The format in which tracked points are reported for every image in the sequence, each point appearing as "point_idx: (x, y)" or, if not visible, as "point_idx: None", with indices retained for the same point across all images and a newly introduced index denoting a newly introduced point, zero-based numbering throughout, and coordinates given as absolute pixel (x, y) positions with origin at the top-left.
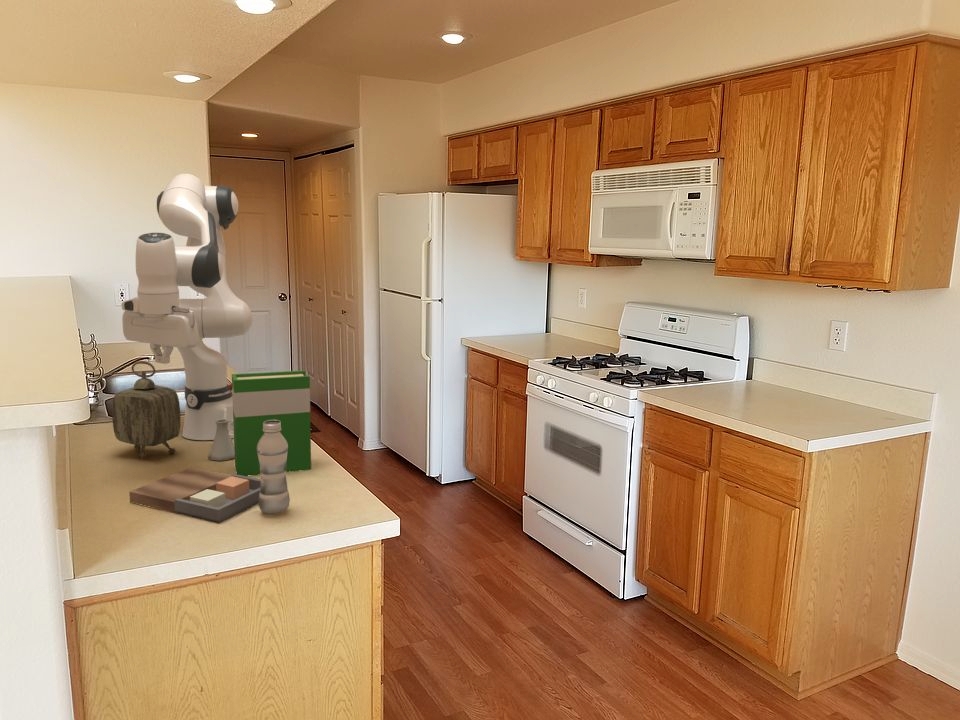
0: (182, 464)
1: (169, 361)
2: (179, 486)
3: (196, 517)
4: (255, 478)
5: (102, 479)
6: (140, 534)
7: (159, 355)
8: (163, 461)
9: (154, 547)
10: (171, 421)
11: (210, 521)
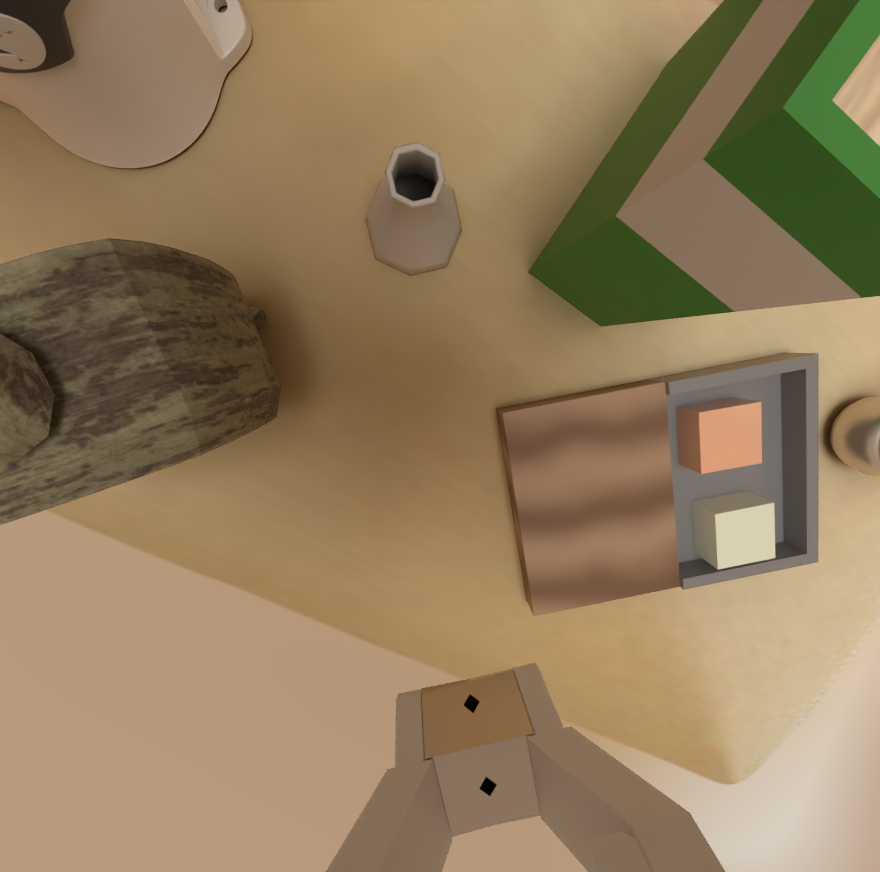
0: (376, 358)
1: (538, 672)
2: (605, 523)
3: None
4: (748, 368)
5: (323, 564)
6: (691, 666)
7: (467, 810)
8: (305, 378)
9: (760, 678)
10: (244, 329)
11: None
